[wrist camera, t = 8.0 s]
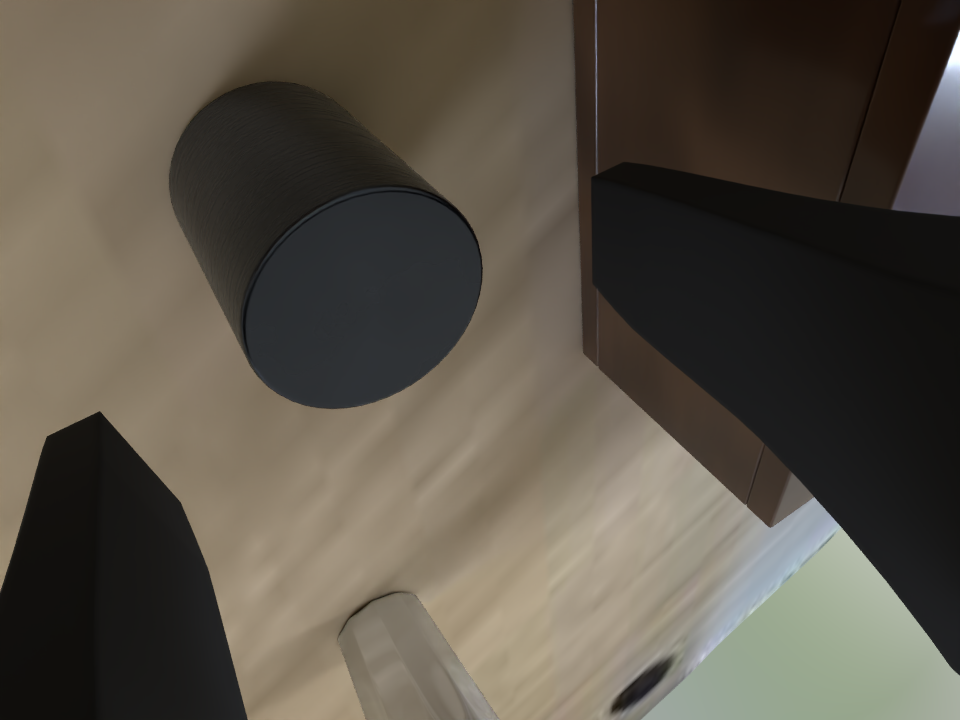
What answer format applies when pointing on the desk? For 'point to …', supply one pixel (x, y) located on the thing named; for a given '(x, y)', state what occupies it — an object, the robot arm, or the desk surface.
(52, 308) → the desk surface
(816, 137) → the cabinet
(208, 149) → the cylinder
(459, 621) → the desk surface
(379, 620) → the milkshake
